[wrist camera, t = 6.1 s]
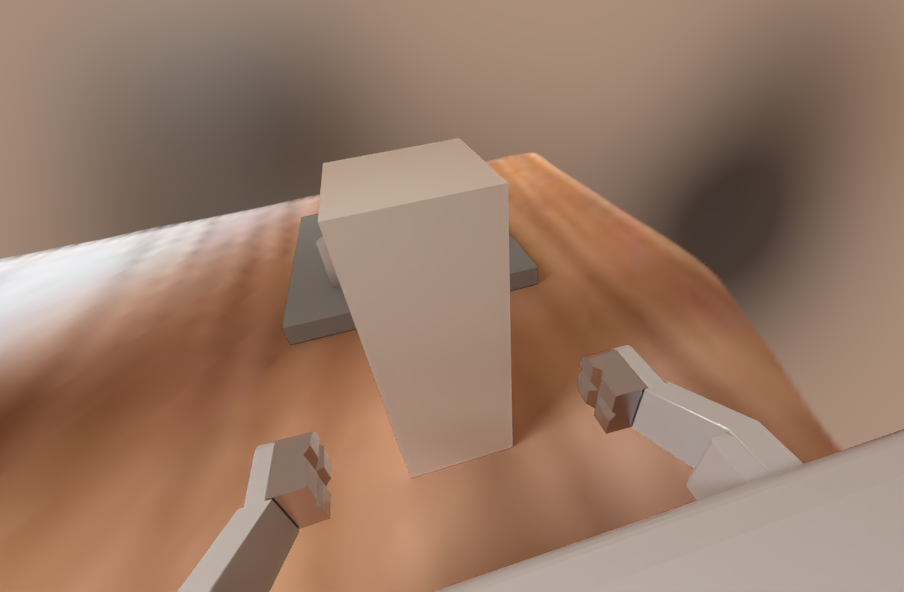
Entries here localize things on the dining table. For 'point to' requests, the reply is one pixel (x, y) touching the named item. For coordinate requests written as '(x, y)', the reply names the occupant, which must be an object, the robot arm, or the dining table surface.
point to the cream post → (428, 293)
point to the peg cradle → (320, 294)
